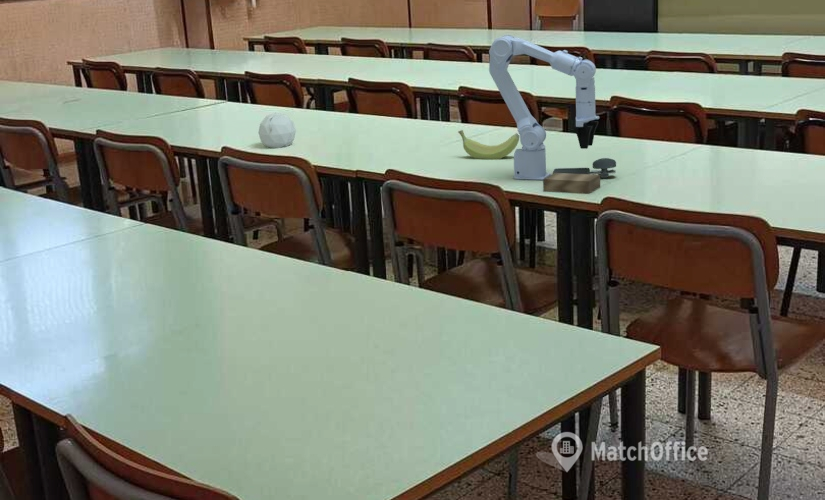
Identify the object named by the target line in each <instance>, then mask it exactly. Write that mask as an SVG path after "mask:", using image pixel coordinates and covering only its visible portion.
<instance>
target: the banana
mask: <svg viewBox="0 0 825 500" xmlns="http://www.w3.org/2000/svg"><path fill="white" fill-rule="evenodd" d="M457 133H458V134H459V136H461V138H462V146H463V149H464V151H465V152H466V153H467V154H468V155H469V156H471V157H472V158H474V159H476V160H500V159H503V158H505V157H506V156H508V155H510V154H511V153H512V152H513V151H514V150H516V149H515V148H516V147H517V145H518V144H519V141H520V134H519V133H514V134H513V135H511V136H510V137H509V138H508V139H507V140H505V141H504V142H502V143H499V144H495V145H486V144H482V143H480V142H477V141H476V140H473V139H470V138H468V137H466V135H465V133H464V130H463V129H460V130H458V131H457Z"/></svg>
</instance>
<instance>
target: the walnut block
mask: <svg viewBox="0 0 825 500" xmlns="http://www.w3.org/2000/svg"><path fill="white" fill-rule="evenodd" d="M542 183H543V184H542V185H543V187H542V188H543V192H552V193H571V194H587V195H589V194H592V193H593V192H594V191H596V190H598V189H599V188H601V175H599V174H594V175H592V174H571V173H554V174H553V173H552V174H550V175H549V176H548V177H546V178H544V179H543V180H542Z"/></svg>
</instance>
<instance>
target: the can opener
mask: <svg viewBox="0 0 825 500" xmlns="http://www.w3.org/2000/svg"><path fill="white" fill-rule="evenodd" d="M616 167H617V161H616V160H615V159H612V158H609V157H603V158H598V159H596V160H594V161H593V162H592V169H593V170H591V169H590V167H568V168H567V167H564V168H563V167H562V168H561V167H560V168H559V167H558V168H554V170H553V171H552V174H554V173H571V174H592V175H600V179H601V178H608V177H609V174H610V175H611V174H613V175H614V174H615V173H616V172H617V171H616V169H614V168H616Z"/></svg>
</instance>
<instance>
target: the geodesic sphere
mask: <svg viewBox="0 0 825 500" xmlns="http://www.w3.org/2000/svg"><path fill="white" fill-rule="evenodd" d="M296 133H297V130H296V127H295V124H294V121H293V120H292V119H291V118H290V117H289V116H288V115H287V114H285V113H283V114H282V113H277V112H274V113H272V114H268V115H266V116H265V117H264V118H263V120H262V121H261V122H260V123H259V128H258V135H259V140H260V143H262V144H263V145H264V146H265V147H267V148H269V149H272V148H273V149H279V148H285V147H289V146H291V144H292V143H293V142H294V140H295V136H296Z"/></svg>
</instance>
